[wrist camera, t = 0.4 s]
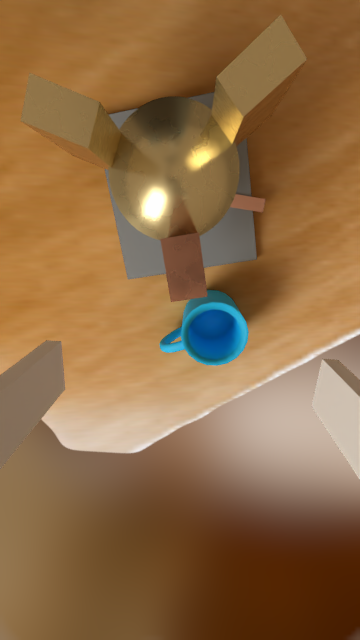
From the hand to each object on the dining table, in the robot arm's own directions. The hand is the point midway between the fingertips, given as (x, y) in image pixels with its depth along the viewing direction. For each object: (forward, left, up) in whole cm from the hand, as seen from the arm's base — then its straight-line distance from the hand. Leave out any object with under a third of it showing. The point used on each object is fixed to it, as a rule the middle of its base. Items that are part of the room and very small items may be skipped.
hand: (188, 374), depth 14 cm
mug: (+6, 0, -28) cm, 29 cm away
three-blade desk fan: (-10, 0, -19) cm, 21 cm away
